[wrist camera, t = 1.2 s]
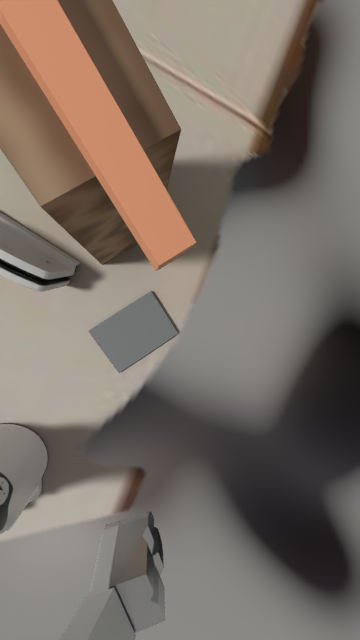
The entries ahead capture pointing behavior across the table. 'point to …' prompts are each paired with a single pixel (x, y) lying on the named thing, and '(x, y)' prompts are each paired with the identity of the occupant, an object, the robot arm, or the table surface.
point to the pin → (96, 125)
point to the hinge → (32, 258)
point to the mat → (133, 332)
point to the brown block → (58, 146)
